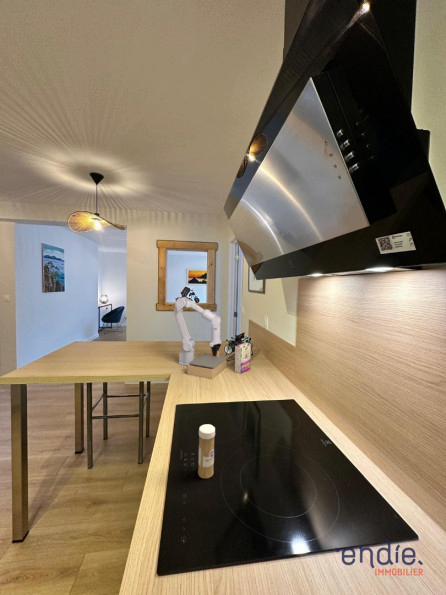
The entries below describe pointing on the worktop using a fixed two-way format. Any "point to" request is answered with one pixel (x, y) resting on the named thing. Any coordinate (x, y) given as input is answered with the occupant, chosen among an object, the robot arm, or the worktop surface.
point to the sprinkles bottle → (206, 450)
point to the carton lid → (209, 360)
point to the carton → (206, 370)
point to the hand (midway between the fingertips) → (215, 355)
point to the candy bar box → (242, 357)
